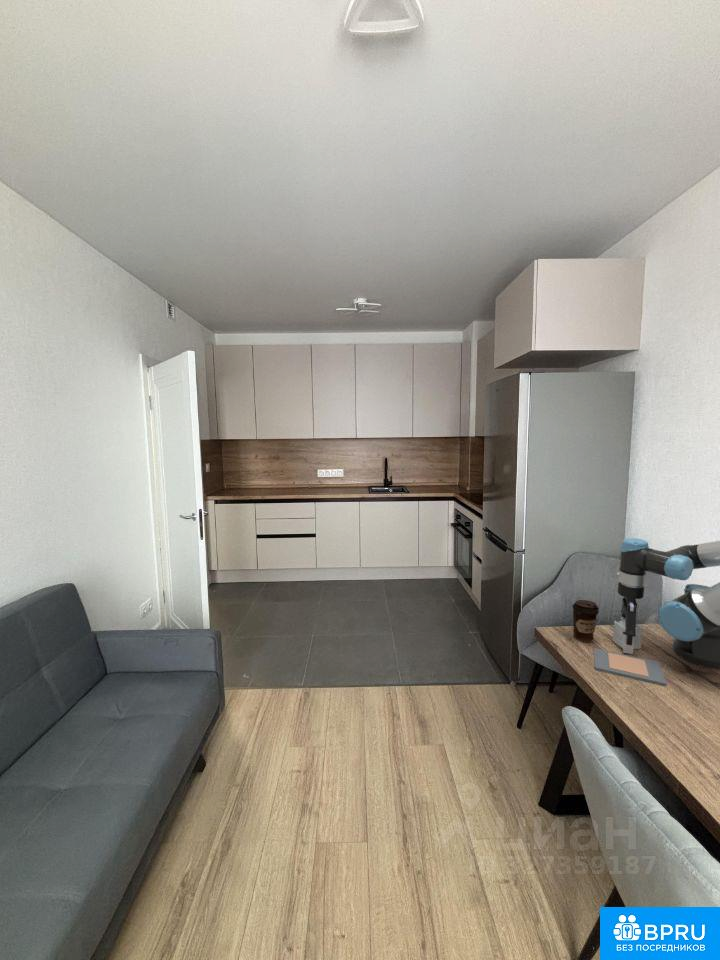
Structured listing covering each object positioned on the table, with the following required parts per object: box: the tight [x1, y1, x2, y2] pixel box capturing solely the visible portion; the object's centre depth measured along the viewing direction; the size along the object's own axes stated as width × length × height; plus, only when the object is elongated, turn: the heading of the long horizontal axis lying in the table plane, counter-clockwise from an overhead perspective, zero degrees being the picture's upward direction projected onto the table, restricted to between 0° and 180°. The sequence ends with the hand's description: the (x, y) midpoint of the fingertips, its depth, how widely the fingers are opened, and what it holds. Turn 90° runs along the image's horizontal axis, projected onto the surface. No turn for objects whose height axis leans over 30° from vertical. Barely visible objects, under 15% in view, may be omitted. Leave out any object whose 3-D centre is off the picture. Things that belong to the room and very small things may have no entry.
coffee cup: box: [572, 599, 600, 643], centre depth 148 cm, size 9×8×13 cm
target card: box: [593, 647, 667, 687], centre depth 131 cm, size 18×13×1 cm
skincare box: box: [612, 620, 643, 650], centre depth 144 cm, size 6×6×7 cm
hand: (626, 644), depth 145 cm, fingers open, 12 cm apart
